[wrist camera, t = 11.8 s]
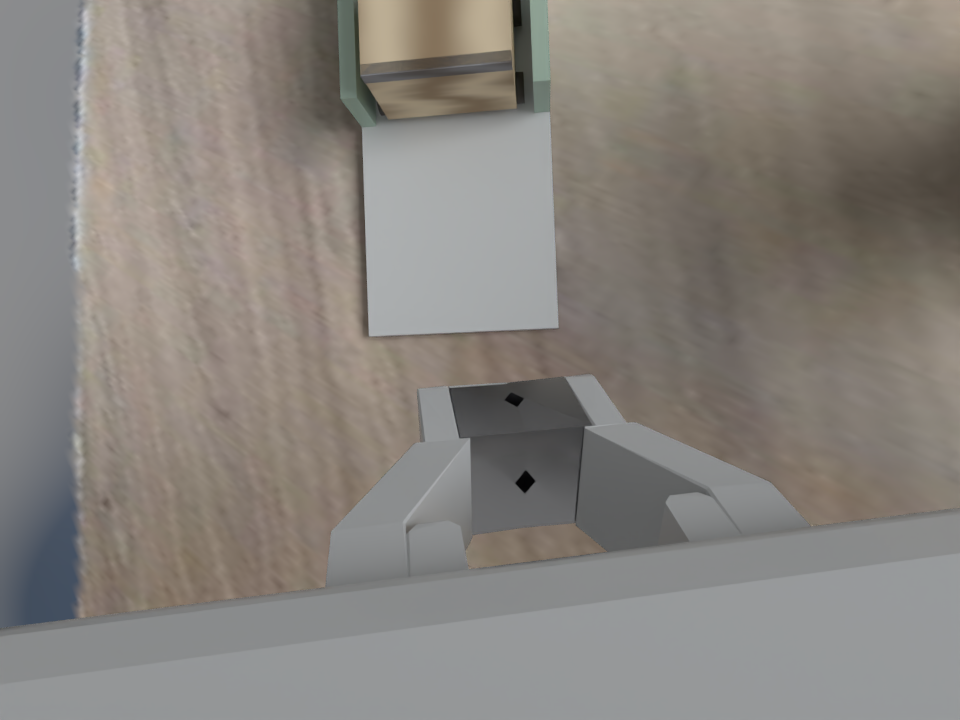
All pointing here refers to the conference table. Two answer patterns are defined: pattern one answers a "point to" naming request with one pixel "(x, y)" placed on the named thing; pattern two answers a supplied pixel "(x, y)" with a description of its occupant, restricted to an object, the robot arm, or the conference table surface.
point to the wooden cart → (440, 56)
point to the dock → (458, 202)
